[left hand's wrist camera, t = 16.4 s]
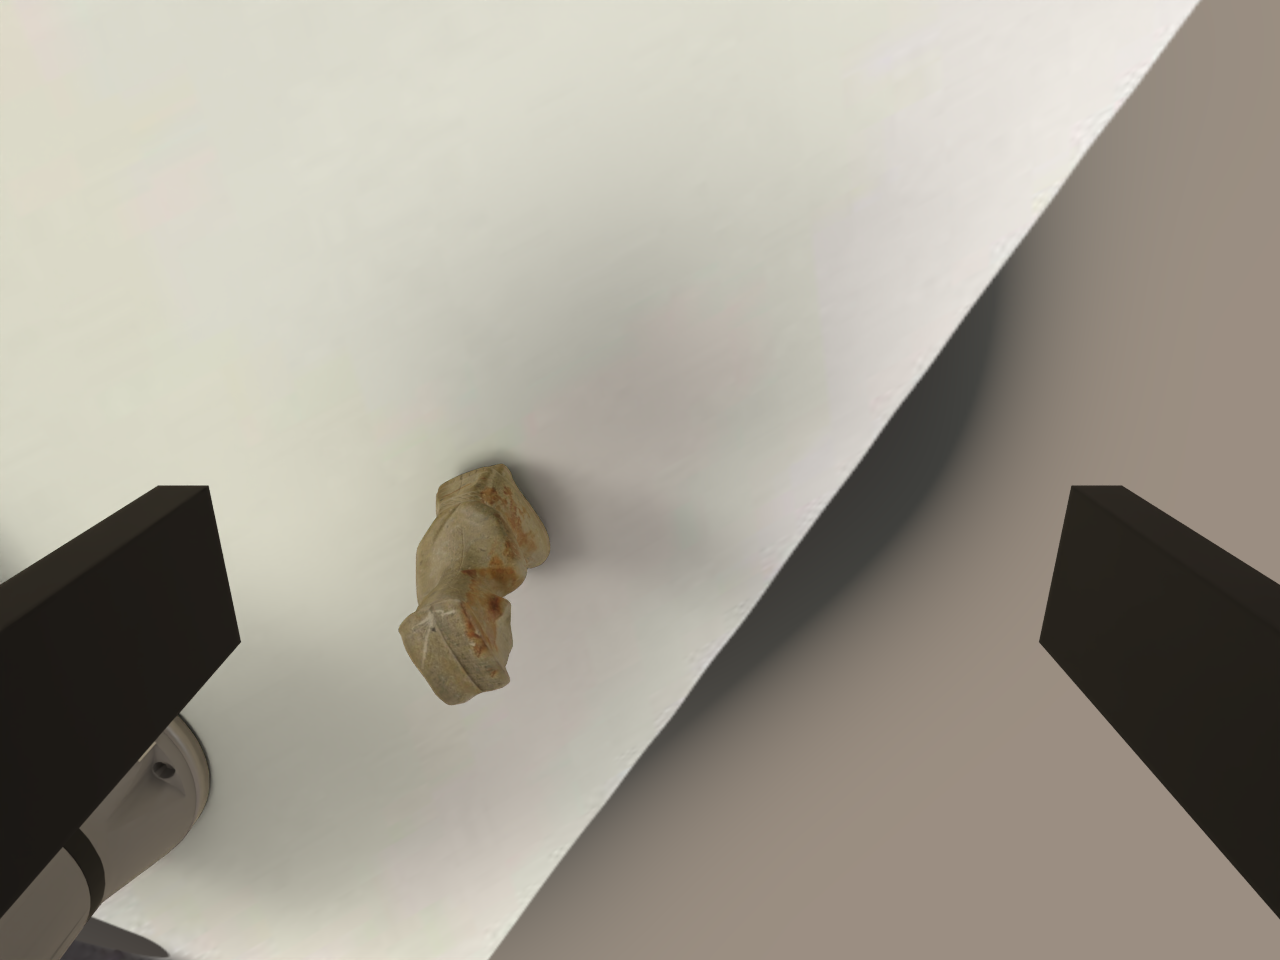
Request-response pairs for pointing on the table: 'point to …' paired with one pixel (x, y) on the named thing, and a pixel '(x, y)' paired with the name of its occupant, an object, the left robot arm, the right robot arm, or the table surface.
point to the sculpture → (471, 582)
